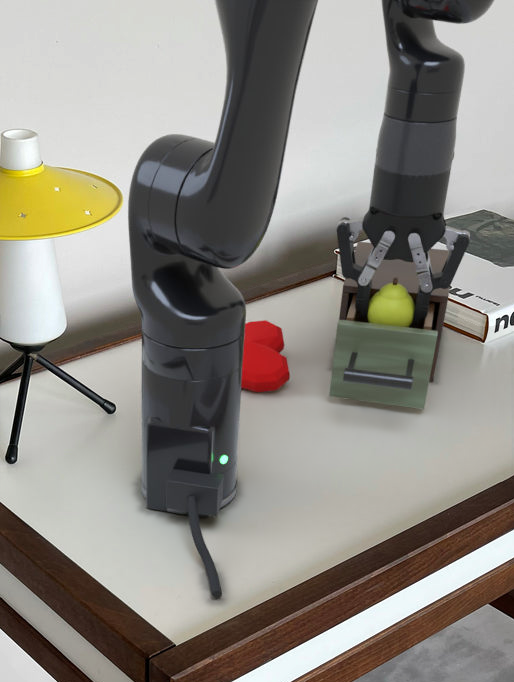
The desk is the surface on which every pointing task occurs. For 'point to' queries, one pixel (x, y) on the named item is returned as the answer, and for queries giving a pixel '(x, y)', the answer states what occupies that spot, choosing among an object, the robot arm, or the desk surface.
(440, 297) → the cabinet
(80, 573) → the desk surface
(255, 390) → the heart
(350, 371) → the drawer
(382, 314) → the pear
